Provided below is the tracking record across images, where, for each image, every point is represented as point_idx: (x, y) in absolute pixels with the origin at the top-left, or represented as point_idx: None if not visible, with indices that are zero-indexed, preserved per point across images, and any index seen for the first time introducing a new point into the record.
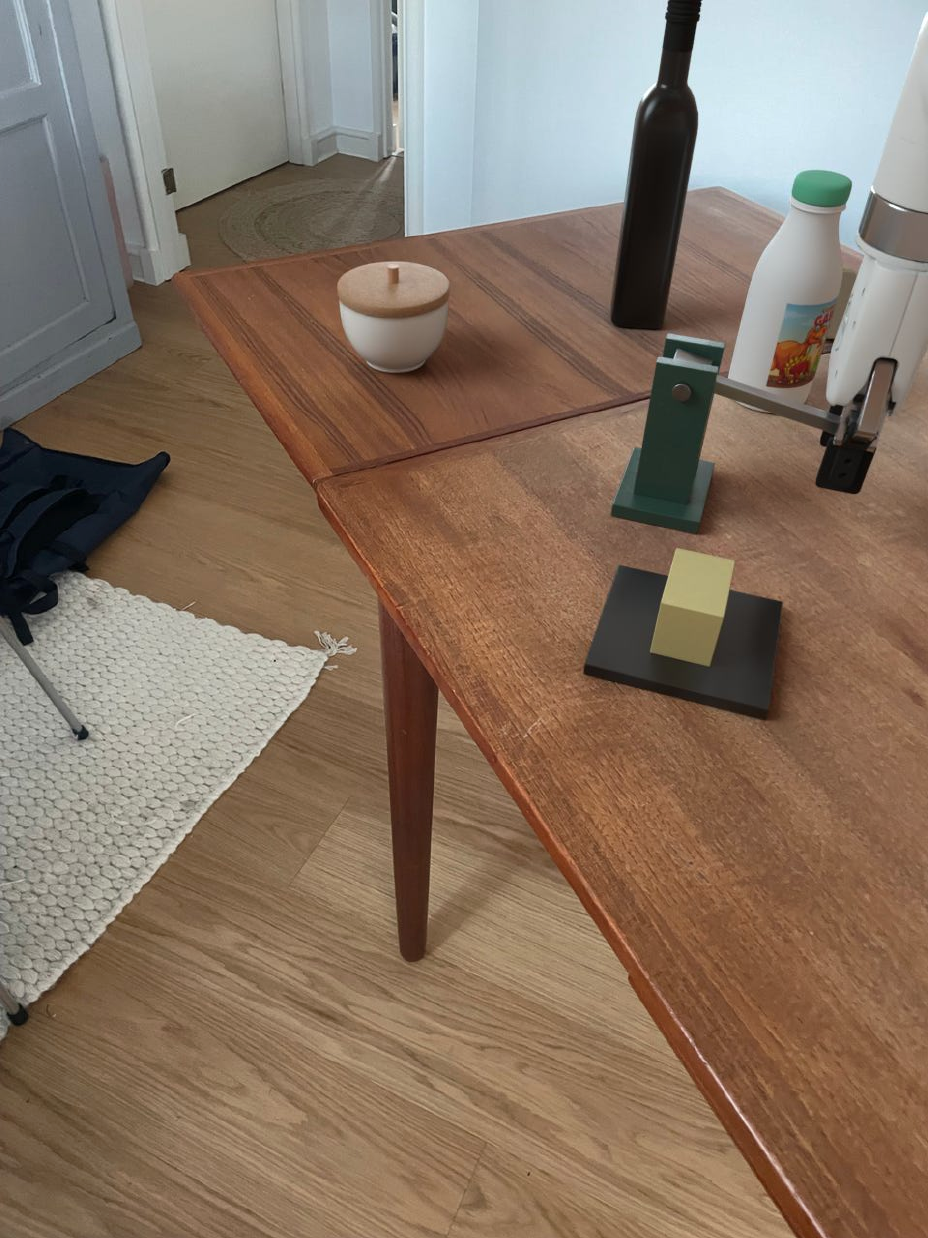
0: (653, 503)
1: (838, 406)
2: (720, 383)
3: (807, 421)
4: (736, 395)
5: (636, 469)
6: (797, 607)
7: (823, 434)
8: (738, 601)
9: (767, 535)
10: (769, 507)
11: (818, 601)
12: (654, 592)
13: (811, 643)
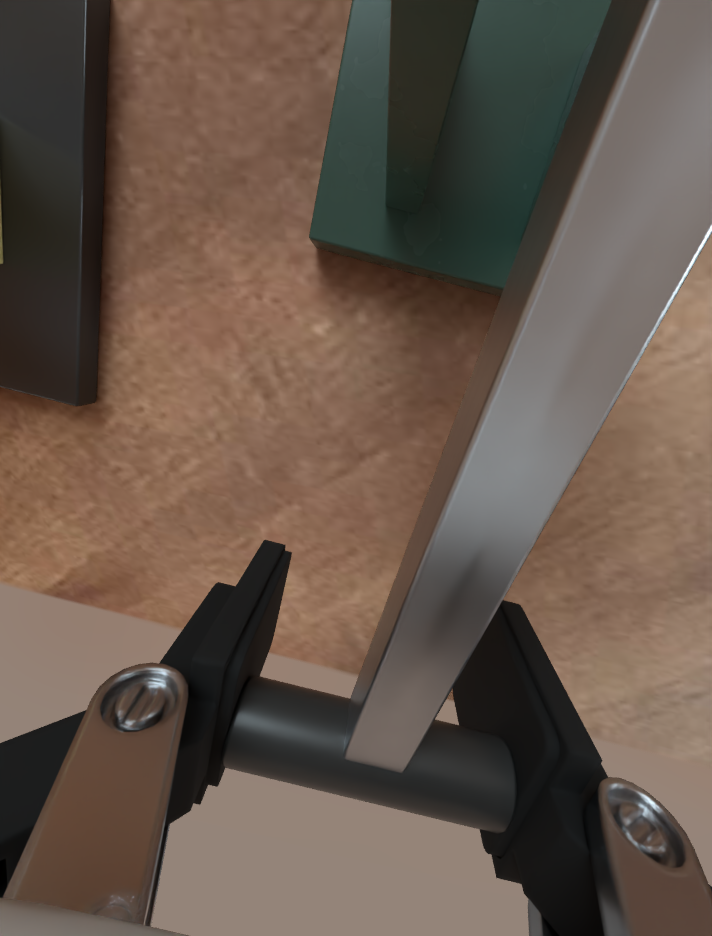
0: (381, 88)
1: (539, 749)
2: None
3: (390, 599)
4: (581, 112)
5: (571, 24)
6: (120, 438)
7: (508, 623)
8: (45, 309)
9: (335, 418)
10: (439, 439)
11: (148, 479)
12: (4, 82)
13: (32, 445)
